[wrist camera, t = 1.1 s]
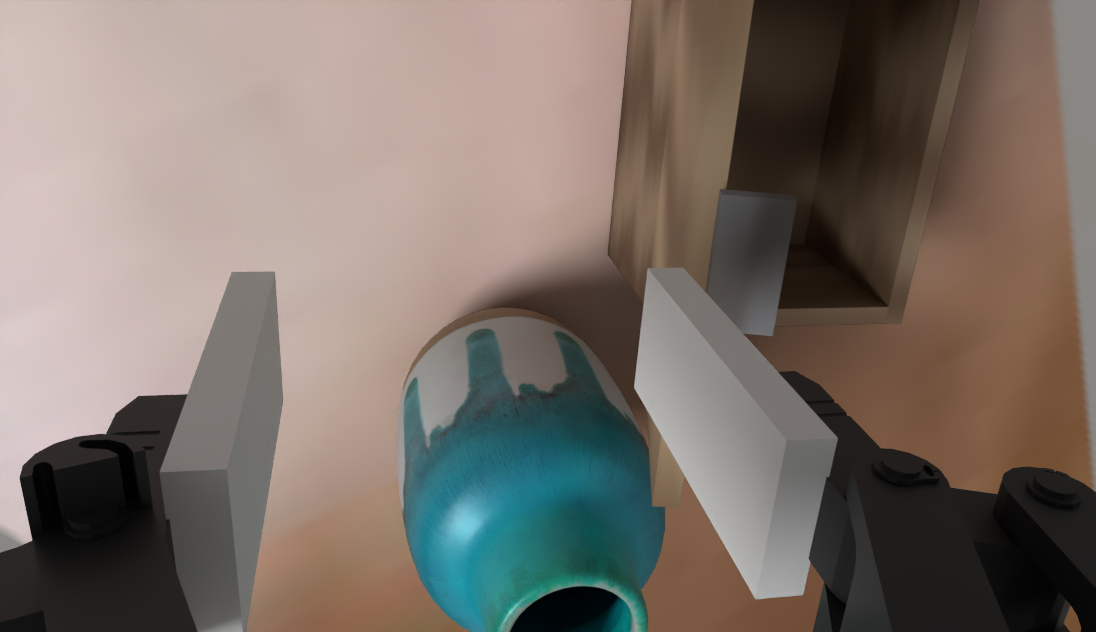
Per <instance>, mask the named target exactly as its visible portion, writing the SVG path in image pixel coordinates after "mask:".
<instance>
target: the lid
mask: <svg viewBox="0 0 1096 632" xmlns="http://www.w3.org/2000/svg"><path fill="white" fill-rule="evenodd" d="M753 3H754V0H682V1H681V10H680V18H679V27H678V36H677V44H676V53H675V61H674V70H673V79H672V87H671V96H670V105H669V113H668V122H667V131H666V139H665V148H664V156H663V165H662V174H661V182H660V191H659V200H658V208H657V217H656V226H655V234H654V243H653V251H652V260H651V268H684V269H685V270H686V271H687V272H688V273H689V275H690V276H691V277H692V278H693V279H694V280H695V281H696V282H697V283H698V284H699V286H700V287H701V288H702V289H703V290H704V291H705V292H706V293H707V294H708V295H709V297H710V298H711V299H712V300H713V301H714V302H715V303H716V304H717V305H718V306H719V308H720V309H721V310H722V311H723V312H724V313H725V314H726V315H727V316H728V317H729V319H730V320H731V321H732V322H733V323H734V324H735V325H736V326H737V327H738V328H739V330H740V331H741V332H742V333H743V334H753V335H764V336H773V332H774V326H775V321H776V315H777V310H778V304H779V298H780V293H781V287H782V282H783V276H784V271H785V265H786V260H787V254H788V248H789V243H790V237H791V232H792V226H793V221H794V215H795V210H796V204H797V200H796V198H795V197H794V195H787V194H774V193H762V192H749V191H737V190H726V188H727V181H728V174H729V167H730V160H731V153H732V147H733V140H734V133H735V126H736V119H737V113H738V106H739V99H740V92H741V85H742V78H743V72H744V65H745V58H746V51H747V44H748V37H749V31H750V24H751V17H752V10H753ZM647 426H648V443H649V460H650V478H651V495H652V506H656V507H667V508H677V509H679V508H680V502H681V495H682V488H683V481H684V474H683V472H682V470H681V468H680V467H679V465H678V463H677V461H676V460H675V458H674V456H673V454H672V453H671V451H670V449H669V448H668V446H667V444H666V442H665V441H664V439H663V437H662V435H661V434H660V432H659V430H658V428H657V427H656V425H655V423H654V421H653V420H652V418H651V416H650V414H649V413H648V411H647Z"/></svg>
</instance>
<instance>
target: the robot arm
mask: <svg viewBox="0 0 1096 632" xmlns="http://www.w3.org/2000/svg"><path fill="white" fill-rule="evenodd" d="M634 388H635V390H636V392H637V394H638V395H639V397H640V399H641V401H642V402H643V404H644V406H645V407H646V409H647V411H648V413H649V414H650V416H651V418H652V420H653V421H654V423H655V425H656V427H657V428H658V430H659V432H660V434H661V435H662V437H663V439H664V441H665V442H666V444H667V446H668V448H669V449H670V451H671V453H672V454H673V456H674V458H675V460H676V461H677V463H678V465H679V467H680V468H681V470H682V472H683V474H684V475H685V477H686V479H687V481H688V482H689V484H690V486H691V488H692V489H693V491H694V493H695V495H696V496H697V498H698V500H699V501H700V503H701V505H702V507H703V508H704V510H705V512H706V514H707V515H708V517H709V519H710V521H711V522H712V524H713V526H714V528H715V529H716V531H717V533H718V535H719V536H720V538H721V540H722V542H723V543H724V545H725V547H726V548H727V550H728V552H729V554H730V555H731V557H732V559H733V561H734V562H735V564H736V566H737V568H738V569H739V571H740V573H741V575H742V576H743V578H744V580H745V582H746V583H747V585H748V587H749V589H750V590H751V592H752V594H753V596H754V597H755V599H762V598H774V597H785V596H797V595H803V592H804V588H805V584H806V579H807V575H808V570H809V566H810V562H811V563H812V565H813V566H814V568H815V569H816V570H817V572H818V573H819V575H820V576H821V578H822V579H823V581H824V586H823V590H822V594H821V599H820V603H819V607H818V611H817V616H816V620H815V624H814V629H813V632H1070V631H1069V630H1068V629H1067V627H1066V626H1065V625H1064V621H1065V618H1066V616H1067V613H1068V610H1069V608H1070V605H1071V606H1072V608H1073V609H1074V611H1075V612H1076V614H1077V616H1078V619H1079V622H1080V625H1081V632H1096V492H1095V491H1093V490H1092V489H1091V488H1089V487H1088V486H1086V485H1085V484H1084V483H1082V482H1080V481H1078V480H1075V479H1073V478H1071V477H1069V476H1068V475H1067V474H1065V473H1062V472H1059V471H1056V472H1055V471H1054V470H1052V469H1047V468H1034V467H1019V468H1012V469H1011V470H1009V471H1007V472H1006V473H1004V475H1003V479H1002V482H1001V485H1000V488H999V491H998V494H991V493H984V492H977V491H970V490H962V489H956V488H951V487H950V485H949V483H948V480H947V479H946V477H945V476H944V475H943V473H942V472H941V471H940V470H939V469H938V468H937V467H935V466H934V465H932V464H931V463H930V462H928V461H927V460H924V459H922V458H920V457H917V456H915V455H913V454H910V453H907V452H903V451H898V450H894V449H882V448H880V447H879V446H878V445H877V444H876V443H875V442H874V441H873V440H872V439H871V438H870V437H869V436H868V435H867V433H866V432H865V431H864V430H863V429H862V428H861V427H860V426H859V425H858V424H857V423H856V422H855V421H854V420H853V419H852V418H851V417H850V416H847V415H846V412H845V411H844V410H843V409H842V408H841V407H840V406H839V405H838V404H837V403H834V399H833V398H832V397H831V396H830V395H829V394H828V393H827V392H826V391H825V390H824V389H823V388H822V387H821V386H820V385H819V384H817V383H815V382H813V381H812V380H810V379H808V378H806V377H804V376H803V375H801V374H799V373H797V372H795V371H789V372H778V371H777V370H776V369H775V368H774V367H773V366H772V365H771V364H770V363H769V362H768V360H767V359H766V358H765V357H764V356H763V355H762V354H761V353H760V352H759V351H758V349H757V348H756V347H755V346H754V345H753V344H752V343H751V342H750V341H749V340H748V338H747V337H746V336H745V335H744V334H743V333H742V332H741V331H740V330H739V328H738V327H737V326H736V325H735V324H734V323H733V322H732V321H731V320H730V319H729V317H728V316H727V315H726V314H725V313H724V312H723V311H722V310H721V309H720V308H719V306H718V305H717V304H716V303H715V302H714V301H713V300H712V299H711V298H710V297H709V295H708V294H707V293H706V292H705V291H704V290H703V289H702V288H701V287H700V286H699V284H698V283H697V282H696V281H695V280H694V279H693V278H692V277H691V276H690V275H689V273H688V272H687V271H686V270H685V269H684V268H648V269H647V278H646V287H645V296H644V305H643V313H642V322H641V331H640V340H639V349H638V357H637V366H636V375H635V384H634ZM282 405H283V390H282V375H281V359H280V344H279V329H278V313H277V298H276V282H275V272H232V273H231V276H230V279H229V282H228V284H227V287H226V290H225V293H224V295H223V298H222V301H221V304H220V306H219V309H218V312H217V315H216V318H215V320H214V323H213V326H212V329H211V331H210V334H209V337H208V340H207V342H206V345H205V348H204V351H203V353H202V356H201V359H200V362H199V365H198V367H197V370H196V373H195V376H194V378H193V381H192V384H191V387H190V389H189V392H188V394H186V395H157V396H138V397H137V398H136V399H134V400H133V401H132V402H130V403H129V404H128V405H126V406H125V407H124V408H123V409H121V410H120V411H119V412H117V413H116V415H115V417H114V419H113V421H112V423H111V425H110V427H109V429H108V431H107V434H96V435H88V436H80V437H75V438H72V439H68V440H65V441H62V442H58V443H55V444H53V445H51V446H49V447H47V448H45V449H43V450H42V451H40V452H38V453H36V454H35V455H34V456H33V457H32V458H30V459H29V460H28V461H27V462H26V463H25V464H24V465H23V467H22V471H21V475H20V482H21V487H22V492H23V497H24V501H25V506H26V511H27V516H28V521H29V525H30V530H31V535H32V541H31V542H28V543H26V544H24V545H22V546H19V547H17V548H14V549H11V550H7V551H4V552H1V553H0V632H246V628H247V622H248V616H249V610H250V603H251V597H252V591H253V585H254V579H255V572H256V566H257V560H258V554H259V547H260V541H261V535H262V529H263V523H264V516H265V510H266V504H267V498H268V492H269V485H270V479H271V473H272V467H273V461H274V454H275V448H276V442H277V436H278V430H279V423H280V417H281V411H282Z"/></svg>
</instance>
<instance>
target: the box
mask: <svg viewBox="0 0 1096 632" xmlns="http://www.w3.org/2000/svg"><path fill="white" fill-rule="evenodd" d="M681 1H682V0H632V4H631V14H630V25H629V35H628V46H627V56H626V67H625V78H624V88H623V99H622V109H621V120H620V130H619V141H618V152H617V162H616V173H615V183H614V194H613V204H612V215H611V225H610V236H609V247H608V256H609V257H610V258H611V260H612V261H613V263H614V264H615V265H616V267H617V268H618V269H619V271H620V272H621V274H622V275H623V276H624V278H625V279H626V281H627V282H628V283H629V285H630V286H631V287H632V289H633V290H634V292H635V293H636V294H637V296H638V297H639V299H640V300H641V301H642V303H643V304H644V296H645V287H646V278H647V269H648V268H651V260H652V251H653V243H654V234H655V226H656V217H657V208H658V200H659V191H660V182H661V174H662V165H663V156H664V148H665V139H666V131H667V122H668V113H669V105H670V96H671V87H672V79H673V70H674V61H675V53H676V44H677V36H678V27H679V18H680V10H681ZM978 4H979V0H754V3H753V10H752V17H751V24H750V31H749V37H748V44H747V51H746V58H745V65H744V72H743V78H742V85H741V92H740V99H739V106H738V113H737V119H736V126H735V133H734V140H733V147H732V153H731V160H730V167H729V174H728V181H727V188H726V190H737V191H749V192H762V193H774V194H787V195H794V197H795V198H796V200H797V204H796V210H795V215H794V221H793V226H792V232H791V237H790V243H789V248H788V254H787V260H786V265H785V271H784V276H783V282H782V287H781V293H780V298H779V304H778V310H777V315H776V321H775V326H812V325H856V324H900V323H901V322H902V318H903V314H904V310H905V305H906V301H907V297H908V293H909V289H910V285H911V281H912V276H913V272H914V268H915V264H916V260H917V256H918V252H919V248H920V243H921V239H922V235H923V231H924V227H925V223H926V219H927V215H928V210H929V206H930V202H931V198H932V194H933V190H934V186H935V181H936V177H937V173H938V169H939V165H940V161H941V157H942V153H943V148H944V144H945V140H946V136H947V132H948V128H949V124H950V120H951V115H952V111H953V107H954V103H955V99H956V95H957V91H958V86H959V82H960V78H961V74H962V70H963V66H964V62H965V58H966V53H967V49H968V45H969V41H970V37H971V33H972V29H973V25H974V20H975V16H976V12H977V8H978Z"/></svg>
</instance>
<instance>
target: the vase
mask: <svg viewBox="0 0 1096 632" xmlns="http://www.w3.org/2000/svg"><path fill="white" fill-rule="evenodd" d="M397 468H398V482H399V492H400V500H401V507H402V514H403V520H404V526H405V532H406V537H407V541H408V545H409V549H410V552H411V555H412V558H413V561H414V564H415V566H416V569H417V572H418V574H419V577H420V580H421V582H422V583H423V585H424V587H425V588H426V590H427V592H428V593H429V595H430V596H431V598H432V599H433V601H434V602H435V603H436V604H437V605H438V606H439V607H440V608H441V609H442V610H443V611H444V612H445V614H447V615H448V616H449V617H450V618H451V619H452V620H454V621H455V622H456V623H458V624H459V625H460V626H462V627H463V628H465V629H467V630H469V631H471V632H647V629H648V614H647V609H646V604H645V600H644V597H643V594H642V591H641V589H642V588H643V586H644V585H645V584H646V582H647V581H648V579H649V577H650V576H651V574H652V572H653V570H654V568H655V566H656V563H657V560H658V558H659V555H660V552H661V548H662V543H663V537H664V531H665V507H656V506H652V495H651V478H650V460H649V449H648V446H647V444H646V441H645V439H644V437H643V435H642V432H641V430H640V428H639V426H638V424H637V422H636V420H635V418H634V416H633V414H632V412H631V410H630V408H629V406H628V404H627V402H626V400H625V399H624V397H623V395H622V393H621V392H620V390H619V388H618V387H617V385H616V384H615V382H614V380H613V379H612V377H611V376H610V374H609V373H608V371H607V370H606V368H605V367H604V365H603V364H602V363H601V361H600V360H599V358H598V357H597V356H596V355H595V353H594V352H593V351H592V350H591V349H590V348H589V347H588V345H587V344H586V343H585V342H584V341H583V340H582V339H581V338H580V337H579V336H578V335H577V334H576V333H575V332H573V331H572V330H571V329H569V328H568V327H567V326H565V325H564V324H562V323H561V322H559V321H557V320H555V319H553V318H551V317H549V316H547V315H544V314H541V313H538V312H535V311H531V310H526V309H519V308H493V309H485V310H482V311H478V312H475V313H471V314H469V315H466V316H464V317H462V318H459V319H457V320H455V321H454V322H452V323H451V324H449V325H447V326H446V327H444V328H443V329H442V330H441V331H439V332H438V333H437V334H436V335H435V336H434V337H432V338H431V339H430V340H429V341H428V343H427V344H426V345H425V346H424V347H423V348H422V350H421V351H420V352H419V354H418V355H417V357H416V359H415V360H414V362H413V363H412V365H411V368H410V370H409V372H408V375H407V377H406V380H405V382H404V386H403V390H402V395H401V400H400V405H399V413H398V426H397Z"/></svg>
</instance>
